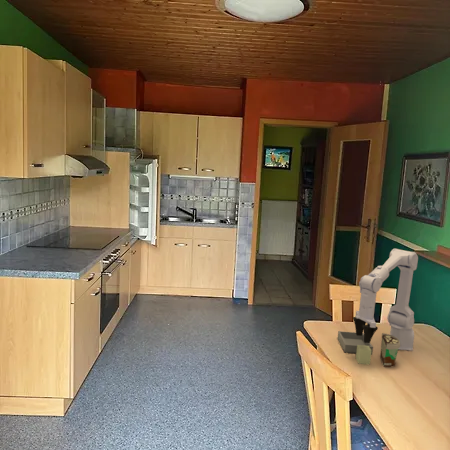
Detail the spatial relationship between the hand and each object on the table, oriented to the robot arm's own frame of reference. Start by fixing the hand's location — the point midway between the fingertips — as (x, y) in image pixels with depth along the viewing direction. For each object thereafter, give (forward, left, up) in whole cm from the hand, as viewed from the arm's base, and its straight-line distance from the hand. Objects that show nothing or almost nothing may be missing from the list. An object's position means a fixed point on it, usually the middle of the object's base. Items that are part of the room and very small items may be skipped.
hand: (362, 338), depth 172 cm
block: (-1, 0, -10) cm, 10 cm away
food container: (-12, -1, -10) cm, 16 cm away
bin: (-1, -15, -10) cm, 18 cm away
